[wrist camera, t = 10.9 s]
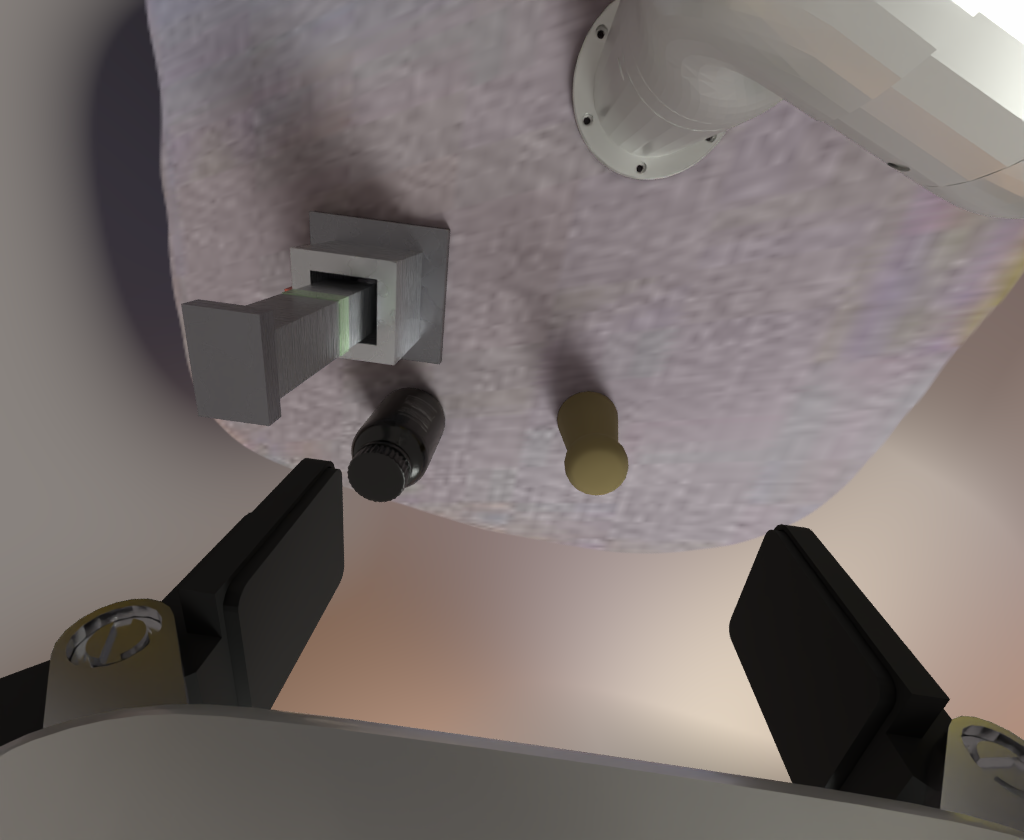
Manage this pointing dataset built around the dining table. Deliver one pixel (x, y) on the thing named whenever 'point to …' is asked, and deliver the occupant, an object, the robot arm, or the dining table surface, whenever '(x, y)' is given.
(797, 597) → the robot arm
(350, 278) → the stand base
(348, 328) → the column
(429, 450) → the supplement bottle
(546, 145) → the dining table surface
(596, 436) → the olive knobbed figure
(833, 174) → the dining table surface
